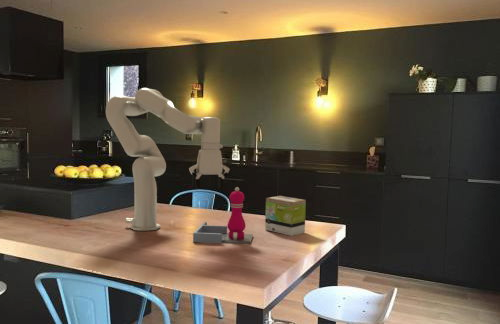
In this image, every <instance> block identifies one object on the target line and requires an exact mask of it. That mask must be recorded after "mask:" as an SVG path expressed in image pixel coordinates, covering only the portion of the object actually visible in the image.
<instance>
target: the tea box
mask: <svg viewBox="0 0 500 324" xmlns="http://www.w3.org/2000/svg"><path fill="white" fill-rule="evenodd" d="M306 202H307V201H306V199H302V198H297V197H289V196H283V195H277V196H271V197H266V198H265V217H264V219H265V222H264V223H265V225H264V226H265V228H264V229H265V231H270V232H274V233H279V234H281V235H286V236H290V237H292V236H293V237H294V236H297V235H300V234H304V233H306V206H307V205H306Z"/></svg>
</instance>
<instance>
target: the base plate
mask: <svg viewBox="0 0 500 324" xmlns="http://www.w3.org/2000/svg"><path fill="white" fill-rule="evenodd" d="M253 237H254V234H253V233H251V234H250V233H244V237H243V238H240V239H237V232H233V238H229V232H227V233H224V234H223V235H222V243H223V244H244V245H245V244H246V245H248V244H251V243H252V240H253ZM222 243H221V244H222Z"/></svg>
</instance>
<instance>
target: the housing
mask: <svg viewBox="0 0 500 324" xmlns="http://www.w3.org/2000/svg"><path fill="white" fill-rule="evenodd" d="M207 222H208V221H203V222H202V223H201V225H199V227H197V228H196V230H194V232H193V233H192V234H193V235H192V242H193V243H206V244H207V243H210V244H211V243H212V244H222V236H223V234H224V233H228V227H227V226H228V225H215V224H214V225H212V224H211V225H210V224H209V225H208V224H207Z"/></svg>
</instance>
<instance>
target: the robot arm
mask: <svg viewBox="0 0 500 324" xmlns="http://www.w3.org/2000/svg"><path fill="white" fill-rule="evenodd" d="M147 113H152V114H153V115H154V116H156V117H158V118H160V119H161V120H162V121H163V122H165V123H166V124H167V125H168V126H169V127H171V128H173V129H175V130H177V131H179V132H181V133H182V134H184V135H201V138H200V139H201V140H200V141H201V143H200V145H201V146H200V149H199V150H198V154H197V161H196V164H194V165H192V166H190V167H189V168H188V170H189V173H190V174H191V176H192V177H194V180H195V181H194V187H195V188H196V189H198V190H199V189H200V188H201V179H200V177H201V176H202V175H204V176H206V175H216V176H218V177H219V178H217V179H218V181H217V188H219V189H223V187H224V180H225V178H226V177H227V176H228V173H229V172H230V168H229V167H228V166H227V165H224V164H223V156H222V151H221V149H223V148H224V147H223V144H221V143H220V142H221V141H220V140H221V139H220V138H221V120H220V118H218V117H213V116H210V117H209V116H206V117H205V116H204V117H202V116H196V115H188V114H187V113H185V112H182V111H181V110H179V109H178V108H176V107H175V106H174V102H173V101H172V100H170V99H168V98H166V97H165V96H163V94H162V93H161V92H160V91H159V90H157V89H154V88H153V89H152V88H148V87H142V88H139V89H138V90H136V93H135V94H134V97H133V96H125V95H115V96H113V97H110V99H109V100H108V102H107V103H106V106H105V117H106V120H107V122H108V123H109V125H110V127H111V128H112V130H113V131H114V133H115V136H116V138H117V139H118V141H119V143H120V145H121V146H122V148H123V150H124V152H125V153H126V155H127V156H129V157H132V158H133V157H136V159H135V160H134V162H133V163H132V165H131V166H132V168H131V169H132V177H133V183H134V185H133V186H134V188H133V189H134V190H133V191H134V200H133V201H134V206H133V207H134V211H133V212H134V214H133V215H134V217H132V218H130V217H126V218H125V220H124V222H125V223H126V224H131V225H130V229H131V230H132V229H133V230H132V231H138V232H146V231H147V232H148V231H156V230H158V229H160V228H161V224H160V223H157V217H158V215H157V213H158V212H157V211H158V210H157V206H158V205H157V204H158V201H157V200H158V199H157V198H158V196H157V194H158V192H157V191H158V186H157V181H156V178H155V177H159V176H162V175H163V174H164V173H165V172H166V171H167V170H166V168H167V163H166V160H165V158H164V156H163V155H162V153H161V151H160V149H159V148H158V146H157V144H156V143H155V141H154V140H153V139H152V138H151V137H150V136H148V135H145V134H143V135H142V134H139V133H138V131H137V130H136V128H135V126H134V124H133V123H132V121H130V119H128V117H137V116H140V115H144V114H147ZM127 116H128V117H127ZM137 157H138V158H137ZM195 169H196V172H195ZM223 170H224V172H223Z"/></svg>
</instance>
